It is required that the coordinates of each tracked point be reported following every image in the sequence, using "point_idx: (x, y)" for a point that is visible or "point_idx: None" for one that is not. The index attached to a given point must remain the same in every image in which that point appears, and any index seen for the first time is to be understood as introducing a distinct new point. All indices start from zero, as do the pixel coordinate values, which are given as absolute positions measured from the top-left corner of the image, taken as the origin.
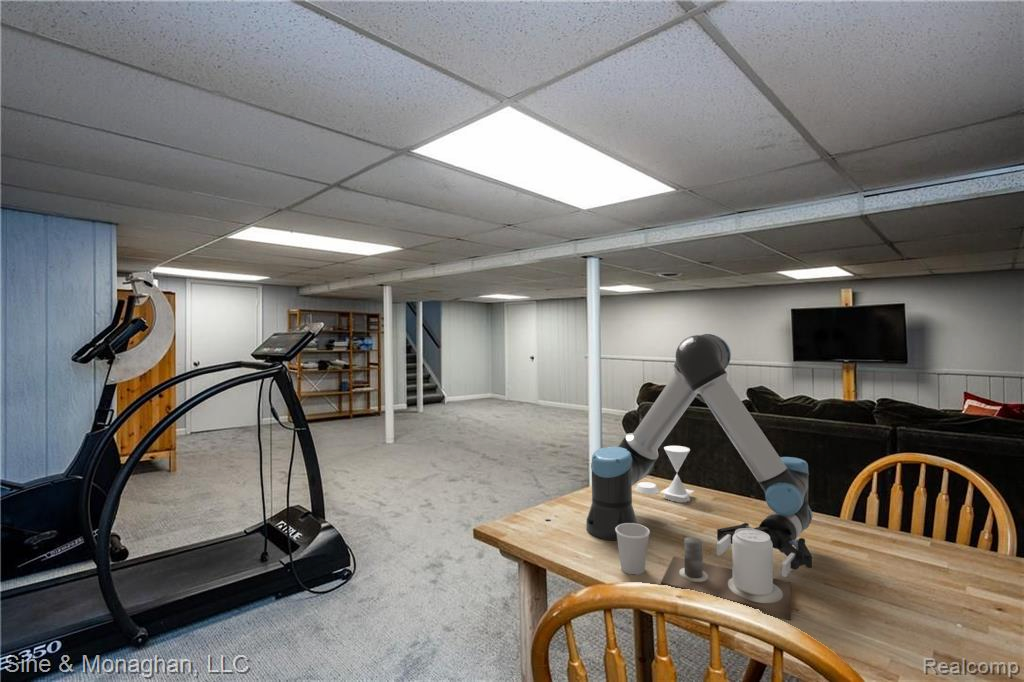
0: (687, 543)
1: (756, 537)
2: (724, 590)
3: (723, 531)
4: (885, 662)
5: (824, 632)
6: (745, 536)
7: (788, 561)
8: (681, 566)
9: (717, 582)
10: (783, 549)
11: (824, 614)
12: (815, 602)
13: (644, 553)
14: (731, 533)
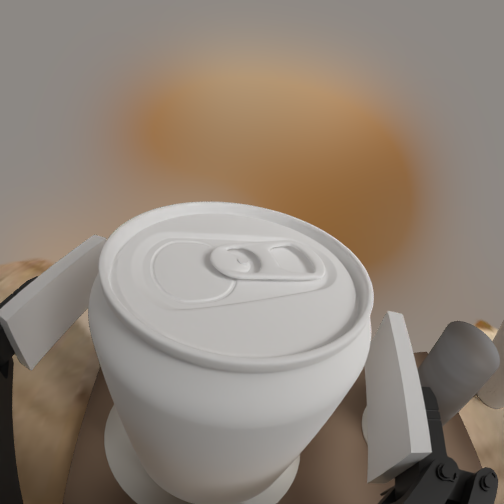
0: (468, 324)
1: (205, 262)
2: None
3: (467, 493)
4: (11, 275)
5: None
6: (280, 240)
7: (69, 253)
8: (446, 447)
9: (328, 424)
10: (10, 492)
11: (21, 385)
12: (17, 439)
13: (499, 345)
14: (420, 491)
